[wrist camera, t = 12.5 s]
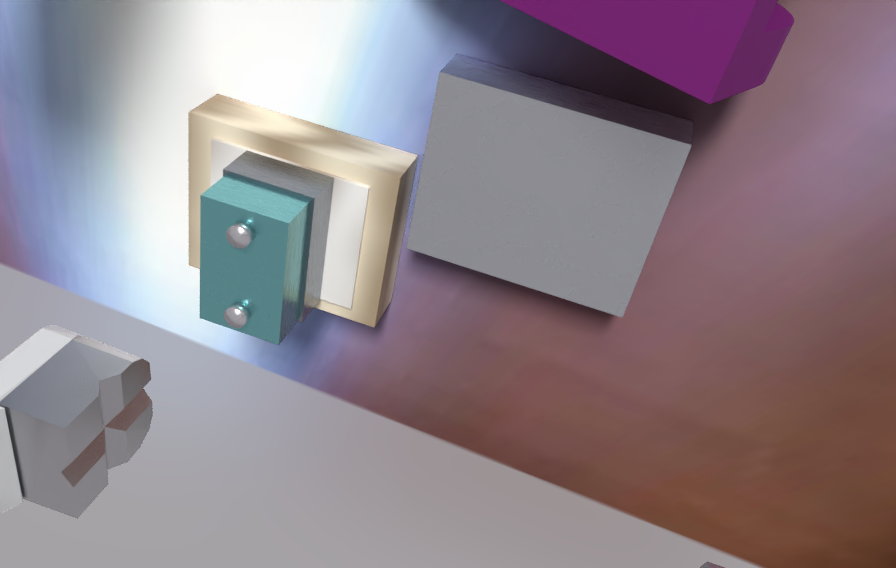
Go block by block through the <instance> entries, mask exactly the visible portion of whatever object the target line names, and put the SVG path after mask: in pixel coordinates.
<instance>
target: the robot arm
mask: <svg viewBox="0 0 896 568" xmlns="http://www.w3.org/2000/svg"><path fill="white" fill-rule="evenodd" d="M150 380H151V374H150V364H149V362H147V361H146V360H144V359H142V358H139V357H137V356H134V355H132V354H129V353H126V352H124V351H121V350H119V349H116V348H114V347H111V346H109V345H106V344H104V343H101V342H99V341H96V340H93V339H91V338H88V337H86V336H82V335H79V334H77V333H74V332H72V331H69V330H66V329H64V328H61V327H59V326H56V325H51V326H48V327H44V328H42V329H40V330H39V331H37V332H36V333H35V334H34V335H32V336H31V337H30V338H29V339H28V340H26V341H25V342H24V343H22V344H21V345H20V346H19V347H17V348H16V349H15V350H14V351H12V352H11V353H10V354H9V355H7V356H6V357H5V358H4V359H2V360H1V361H0V513H3V512H4V511H7V510H9V509H11V508H13V507H15V506H17V505H19V504H21V503H22V502H23V499H25V500H28V501H31V502H34V503H36V504H39V505H42V506H45V507H48V508H50V509H53V510H56V511H58V512H61V513H64V514H67V515H69V516H72V517H75V518H78V517H79V516H80V515H81V514H82V513H83V512H84V511H85V510H86V508H87V507H88V506H89V505H90V504H91V503H92V502H93V501H94V499H95V498H96V497H97V496H98V495H99V494H100V493H101V491H102V490H103V489H104V488H105V487H106V486H107V485H108V469H110V468H112V467H115V466H118V465H121V464H123V463H126V462H128V461H129V460H130V458H131V457H132V456H133V455H134V454H135V452H136V451H137V450H138V449H139V448H140V446H141V444H142V442H143V440H144V438H145V436H146V434H147V432H148V430H149V428H150V424H151V419H152V413H153V412H152V401H151V399H150V398H149V396H148V395H147V394H146V392H145V391H144V389H143V388H144V386H145V385H146V384H147V383H148V382H149V381H150ZM700 568H724V567H721V566H718V565H715V564H712V563H709V562H706V563H705V564H703V565H702V566H701V567H700Z"/></svg>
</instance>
